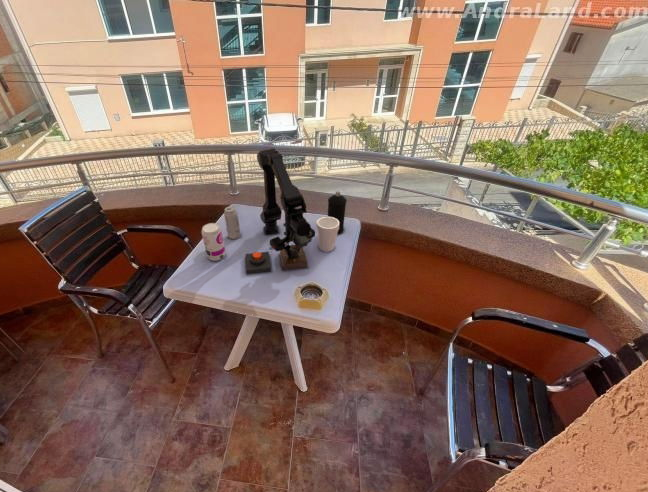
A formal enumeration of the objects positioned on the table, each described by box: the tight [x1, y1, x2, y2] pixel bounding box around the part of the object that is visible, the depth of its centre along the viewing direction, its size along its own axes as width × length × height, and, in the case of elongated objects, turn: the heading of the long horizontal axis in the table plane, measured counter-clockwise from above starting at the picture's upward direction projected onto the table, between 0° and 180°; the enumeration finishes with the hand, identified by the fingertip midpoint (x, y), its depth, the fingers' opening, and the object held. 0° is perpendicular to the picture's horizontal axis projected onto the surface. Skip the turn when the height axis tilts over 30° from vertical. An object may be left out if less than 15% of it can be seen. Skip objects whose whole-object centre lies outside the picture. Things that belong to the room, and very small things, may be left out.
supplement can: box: [200, 222, 227, 262], centre depth 137 cm, size 8×8×15 cm
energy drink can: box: [223, 205, 241, 240], centre depth 148 cm, size 6×6×15 cm
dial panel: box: [279, 247, 308, 271], centre depth 135 cm, size 11×10×3 cm
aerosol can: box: [327, 190, 348, 235], centre depth 146 cm, size 8×8×20 cm
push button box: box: [245, 251, 272, 275], centre depth 134 cm, size 11×10×4 cm
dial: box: [289, 244, 298, 258], centre depth 133 cm, size 4×4×4 cm
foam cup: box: [316, 216, 339, 253], centre depth 138 cm, size 10×9×13 cm
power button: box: [253, 251, 262, 260], centre depth 133 cm, size 4×4×2 cm
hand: (292, 254), depth 134 cm, fingers closed on dial, 4 cm apart
